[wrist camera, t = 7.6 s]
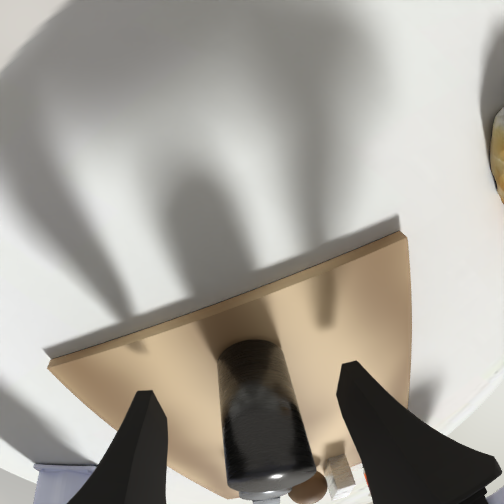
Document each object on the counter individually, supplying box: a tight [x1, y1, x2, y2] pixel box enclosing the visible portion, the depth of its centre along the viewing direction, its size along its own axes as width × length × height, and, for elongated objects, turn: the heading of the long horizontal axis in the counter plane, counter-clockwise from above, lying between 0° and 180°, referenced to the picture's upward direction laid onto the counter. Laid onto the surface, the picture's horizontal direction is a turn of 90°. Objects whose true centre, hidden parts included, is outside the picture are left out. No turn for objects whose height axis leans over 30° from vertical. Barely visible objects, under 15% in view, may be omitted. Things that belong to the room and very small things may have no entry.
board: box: [47, 231, 412, 499], centre depth 17 cm, size 17×22×1 cm
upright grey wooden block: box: [324, 454, 356, 500], centre depth 19 cm, size 4×1×3 cm, turn 5°
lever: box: [217, 339, 317, 504], centre depth 14 cm, size 18×4×5 cm, turn 3°
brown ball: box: [288, 471, 328, 504], centre depth 19 cm, size 3×3×3 cm
